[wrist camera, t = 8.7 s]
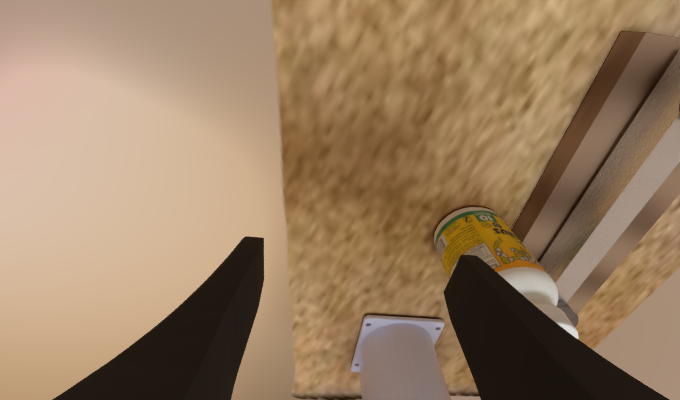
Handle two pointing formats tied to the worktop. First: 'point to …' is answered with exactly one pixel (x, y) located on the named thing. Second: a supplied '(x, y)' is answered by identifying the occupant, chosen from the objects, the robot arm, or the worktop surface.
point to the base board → (601, 154)
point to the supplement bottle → (498, 257)
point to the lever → (618, 189)
